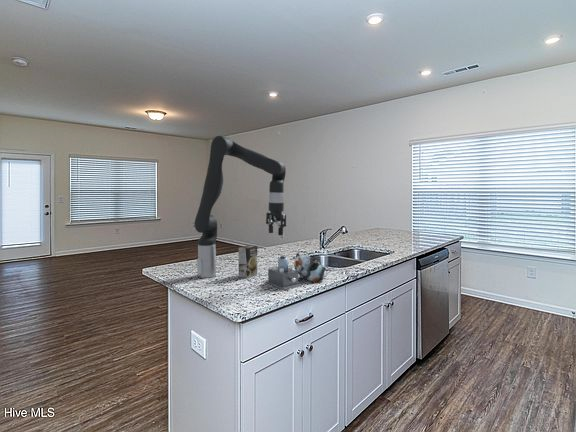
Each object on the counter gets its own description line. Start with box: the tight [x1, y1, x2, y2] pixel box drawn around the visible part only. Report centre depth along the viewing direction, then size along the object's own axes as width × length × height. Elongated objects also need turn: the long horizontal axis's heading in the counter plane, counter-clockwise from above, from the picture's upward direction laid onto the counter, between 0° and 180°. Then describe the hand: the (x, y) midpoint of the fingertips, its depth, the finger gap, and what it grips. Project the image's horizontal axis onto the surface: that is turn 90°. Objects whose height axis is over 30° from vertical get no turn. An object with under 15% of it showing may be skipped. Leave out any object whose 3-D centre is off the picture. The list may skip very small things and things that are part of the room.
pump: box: [277, 255, 289, 271], centre depth 160 cm, size 5×5×7 cm
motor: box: [265, 265, 302, 291], centre depth 160 cm, size 11×17×9 cm, turn 37°
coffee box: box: [238, 244, 258, 279], centre depth 176 cm, size 9×6×16 cm
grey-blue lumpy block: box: [293, 252, 326, 283], centre depth 170 cm, size 17×14×16 cm
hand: (275, 234), depth 162 cm, fingers open, 8 cm apart
